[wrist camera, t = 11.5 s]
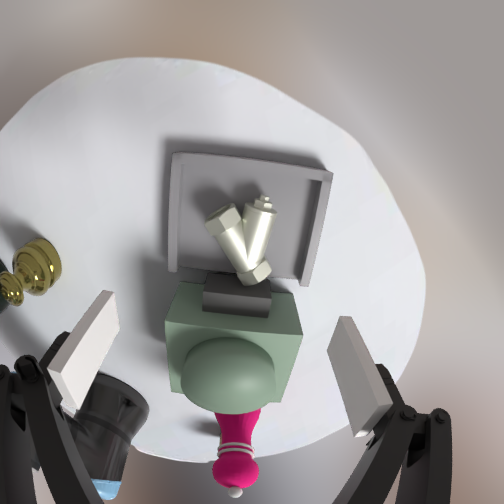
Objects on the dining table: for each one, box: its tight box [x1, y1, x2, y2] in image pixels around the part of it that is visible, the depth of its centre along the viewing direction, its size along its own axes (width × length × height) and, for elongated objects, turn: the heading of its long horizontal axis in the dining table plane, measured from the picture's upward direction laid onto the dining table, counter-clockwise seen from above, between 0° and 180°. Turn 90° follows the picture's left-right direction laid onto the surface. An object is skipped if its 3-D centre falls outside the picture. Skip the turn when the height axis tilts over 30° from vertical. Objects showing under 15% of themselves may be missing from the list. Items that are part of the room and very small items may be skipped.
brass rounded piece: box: [0, 238, 62, 307], centre depth 27 cm, size 7×7×10 cm
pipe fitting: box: [204, 195, 277, 286], centre depth 28 cm, size 8×4×7 cm
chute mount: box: [168, 152, 334, 287], centre depth 29 cm, size 13×16×2 cm
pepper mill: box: [212, 408, 261, 498], centre depth 32 cm, size 7×7×20 cm
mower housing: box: [164, 273, 303, 414], centre depth 31 cm, size 14×14×11 cm
